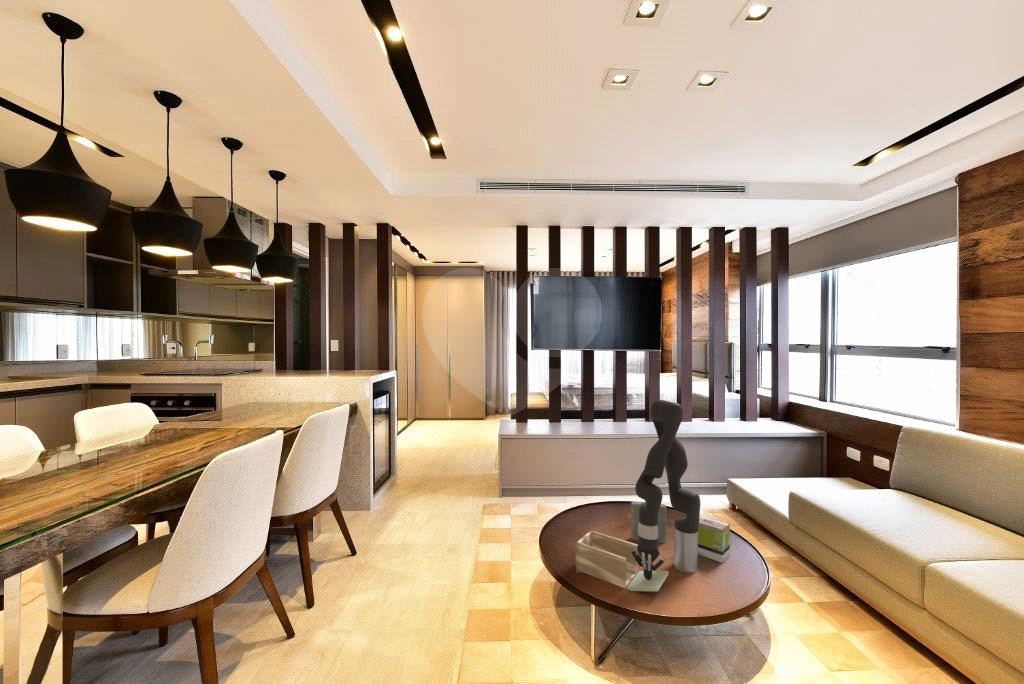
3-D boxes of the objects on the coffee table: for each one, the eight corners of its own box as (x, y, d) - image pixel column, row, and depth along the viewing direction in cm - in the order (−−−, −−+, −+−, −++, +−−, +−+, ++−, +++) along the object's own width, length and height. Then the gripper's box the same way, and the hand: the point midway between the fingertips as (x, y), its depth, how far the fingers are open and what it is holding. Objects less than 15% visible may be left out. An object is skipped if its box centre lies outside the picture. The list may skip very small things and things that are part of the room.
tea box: (730, 555, 186) (730, 522, 185) (722, 564, 179) (722, 530, 178) (696, 543, 196) (696, 512, 196) (687, 551, 189) (687, 519, 189)
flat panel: (639, 570, 170) (667, 570, 163) (640, 574, 170) (668, 573, 163) (626, 587, 159) (656, 588, 152) (627, 590, 158) (657, 591, 152)
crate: (590, 558, 183) (590, 530, 183) (637, 574, 170) (637, 544, 170) (575, 572, 172) (575, 542, 171) (624, 591, 159) (625, 559, 159)
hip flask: (631, 540, 199) (631, 498, 199) (630, 536, 203) (631, 495, 203) (666, 543, 196) (666, 501, 196) (664, 539, 200) (665, 498, 200)
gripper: (668, 535, 160) (668, 580, 160) (634, 525, 167) (634, 568, 168) (662, 543, 154) (662, 589, 154) (628, 532, 161) (627, 577, 162)
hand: (647, 578), depth 161 cm, fingers closed
